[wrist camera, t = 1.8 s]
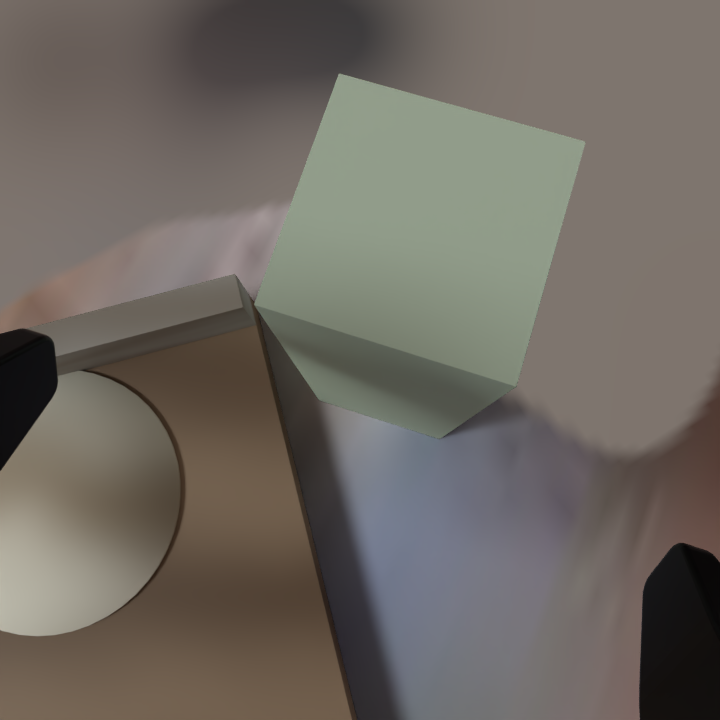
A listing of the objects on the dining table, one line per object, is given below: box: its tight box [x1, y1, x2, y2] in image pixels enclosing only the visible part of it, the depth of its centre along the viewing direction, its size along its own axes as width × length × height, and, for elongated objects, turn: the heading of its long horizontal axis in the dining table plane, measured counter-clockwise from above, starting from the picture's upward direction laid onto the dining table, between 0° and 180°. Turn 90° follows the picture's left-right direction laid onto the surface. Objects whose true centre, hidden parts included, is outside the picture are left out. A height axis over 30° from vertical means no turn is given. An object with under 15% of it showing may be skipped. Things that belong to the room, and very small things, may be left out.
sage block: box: [254, 74, 585, 439], centre depth 15 cm, size 4×4×11 cm
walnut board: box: [0, 274, 357, 720], centre depth 17 cm, size 16×14×3 cm
